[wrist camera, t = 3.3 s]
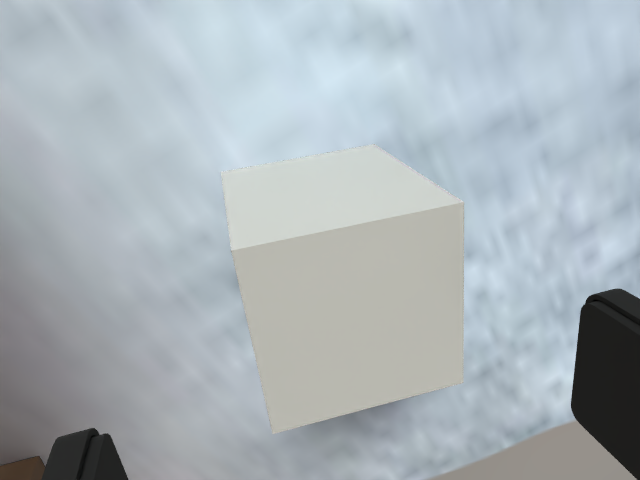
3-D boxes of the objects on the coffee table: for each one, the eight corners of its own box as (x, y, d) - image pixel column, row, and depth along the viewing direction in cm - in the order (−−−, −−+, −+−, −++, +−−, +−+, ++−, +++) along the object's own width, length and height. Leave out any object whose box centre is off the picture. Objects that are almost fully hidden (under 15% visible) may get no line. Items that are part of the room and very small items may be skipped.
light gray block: (373, 143, 16) (463, 202, 10) (383, 276, 18) (463, 382, 12) (220, 171, 15) (231, 250, 9) (250, 306, 17) (272, 434, 12)
